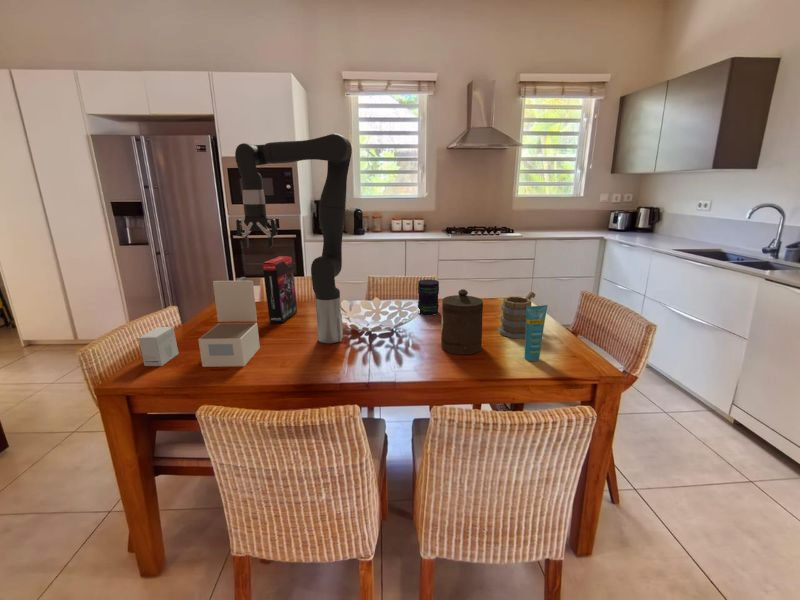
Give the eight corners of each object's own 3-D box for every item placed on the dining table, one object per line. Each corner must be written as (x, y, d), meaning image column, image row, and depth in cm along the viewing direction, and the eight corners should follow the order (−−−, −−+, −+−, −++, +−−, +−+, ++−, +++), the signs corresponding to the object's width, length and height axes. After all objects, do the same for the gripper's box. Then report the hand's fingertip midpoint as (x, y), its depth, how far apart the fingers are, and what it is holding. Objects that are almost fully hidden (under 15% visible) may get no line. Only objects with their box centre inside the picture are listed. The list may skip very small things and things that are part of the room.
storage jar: (439, 315, 186) (440, 284, 182) (418, 315, 187) (418, 284, 182) (437, 309, 196) (438, 279, 192) (417, 309, 196) (417, 279, 192)
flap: (256, 321, 147) (265, 312, 157) (252, 280, 143) (262, 275, 153) (218, 321, 147) (229, 313, 157) (212, 281, 143) (225, 275, 153)
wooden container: (457, 337, 160) (459, 283, 154) (489, 347, 150) (492, 289, 144) (432, 347, 150) (433, 290, 144) (465, 358, 140) (467, 297, 134)
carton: (259, 347, 151) (257, 322, 148) (244, 366, 135) (240, 338, 132) (222, 348, 150) (218, 322, 148) (202, 366, 135) (198, 338, 132)
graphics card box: (282, 324, 177) (277, 262, 169) (267, 323, 178) (261, 262, 170) (297, 312, 193) (293, 256, 185) (284, 311, 194) (279, 255, 186)
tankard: (519, 340, 156) (522, 303, 151) (492, 332, 165) (494, 297, 161) (546, 329, 168) (550, 294, 164) (520, 321, 177) (522, 288, 173)
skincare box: (161, 353, 146) (156, 326, 143) (179, 353, 146) (174, 326, 143) (143, 366, 136) (137, 337, 133) (161, 366, 136) (156, 337, 133)
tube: (525, 362, 136) (530, 308, 131) (518, 356, 141) (522, 304, 136) (545, 360, 138) (550, 306, 133) (537, 354, 143) (542, 302, 137)
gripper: (276, 202, 150) (280, 246, 154) (238, 202, 150) (243, 246, 154) (270, 203, 142) (275, 248, 147) (230, 203, 142) (235, 249, 147)
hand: (258, 247), depth 150 cm, fingers open, 8 cm apart
